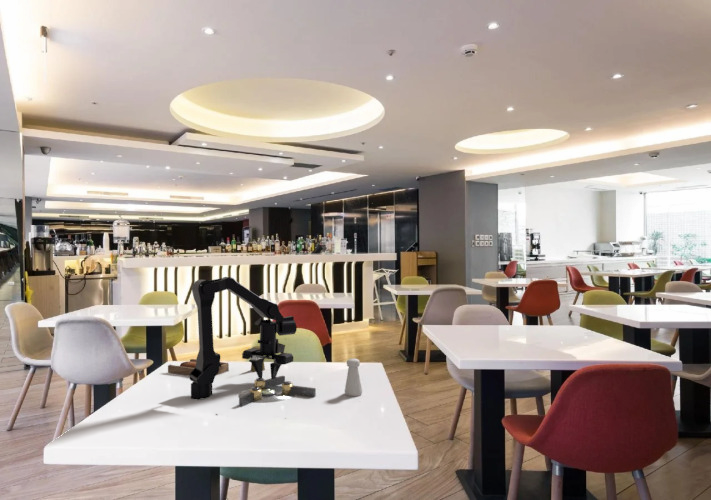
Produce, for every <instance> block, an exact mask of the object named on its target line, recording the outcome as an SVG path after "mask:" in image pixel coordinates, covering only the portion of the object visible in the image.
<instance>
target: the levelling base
mask: <svg viewBox="0 0 711 500" xmlns="http://www.w3.org/2000/svg"><path fill="white" fill-rule="evenodd" d="M295 396H296V395H294V394H289V395H285V394H282V385H277V386H273V387H269V388H265V389H263V390H261V389H260V388H259V387H255V386H253V387H251V388H248V389H245V390H242V391H241V392H240V393H239V394H238V406H239V407H244V406H247V405H249V404H251V403H254V404H255V403H256V404H261V403H262V404H264V403H265V404H266V403H269V404H270V403H277V402H282V401H286V400H288V399H289V400H290V399H291V398H293V397H295Z"/></svg>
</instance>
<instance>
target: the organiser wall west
mask: <svg viewBox="0 0 711 500" xmlns="http://www.w3.org/2000/svg"><path fill="white" fill-rule="evenodd" d="M193 369H194V368H191V367H183V366H180V365H173V364H168V365H167V373H168V374H173V375H181V376H188V377H189V374H190V373H191V371H192V370H193Z"/></svg>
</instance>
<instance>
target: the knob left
mask: <svg viewBox="0 0 711 500" xmlns="http://www.w3.org/2000/svg"><path fill="white" fill-rule="evenodd" d="M284 382H286V377H285V375H280V376H276V377H275V378H267V379H264V378H263V377H262V378H259V377H258V378H256V379H255V380H254V387H259V388H260V389H261V390H263V389H265V388H269V387H273V386H281V385H282V384H283V383H284Z"/></svg>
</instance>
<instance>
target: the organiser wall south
mask: <svg viewBox="0 0 711 500" xmlns="http://www.w3.org/2000/svg"><path fill="white" fill-rule="evenodd" d="M229 371H230V370H229V363H228V364H223V365H221V367H220V366H219V372H218V373H217V375H220V374H224V373H227V372H229ZM217 375H216V376H217Z"/></svg>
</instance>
